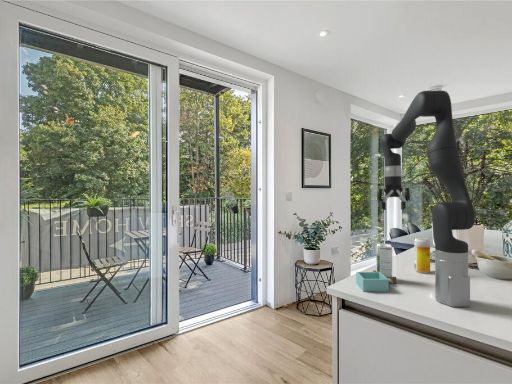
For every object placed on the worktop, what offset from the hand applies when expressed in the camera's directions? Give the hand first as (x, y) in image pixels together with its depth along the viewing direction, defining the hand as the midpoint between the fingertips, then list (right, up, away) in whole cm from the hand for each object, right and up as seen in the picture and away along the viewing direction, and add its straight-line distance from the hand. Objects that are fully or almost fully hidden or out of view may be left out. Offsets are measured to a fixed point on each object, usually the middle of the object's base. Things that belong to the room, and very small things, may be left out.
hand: (393, 209), depth 137 cm
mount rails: (-12, -28, -19) cm, 36 cm away
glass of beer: (+9, -27, -8) cm, 30 cm away
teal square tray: (-21, -28, -26) cm, 44 cm away
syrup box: (-12, -28, -18) cm, 35 cm away
